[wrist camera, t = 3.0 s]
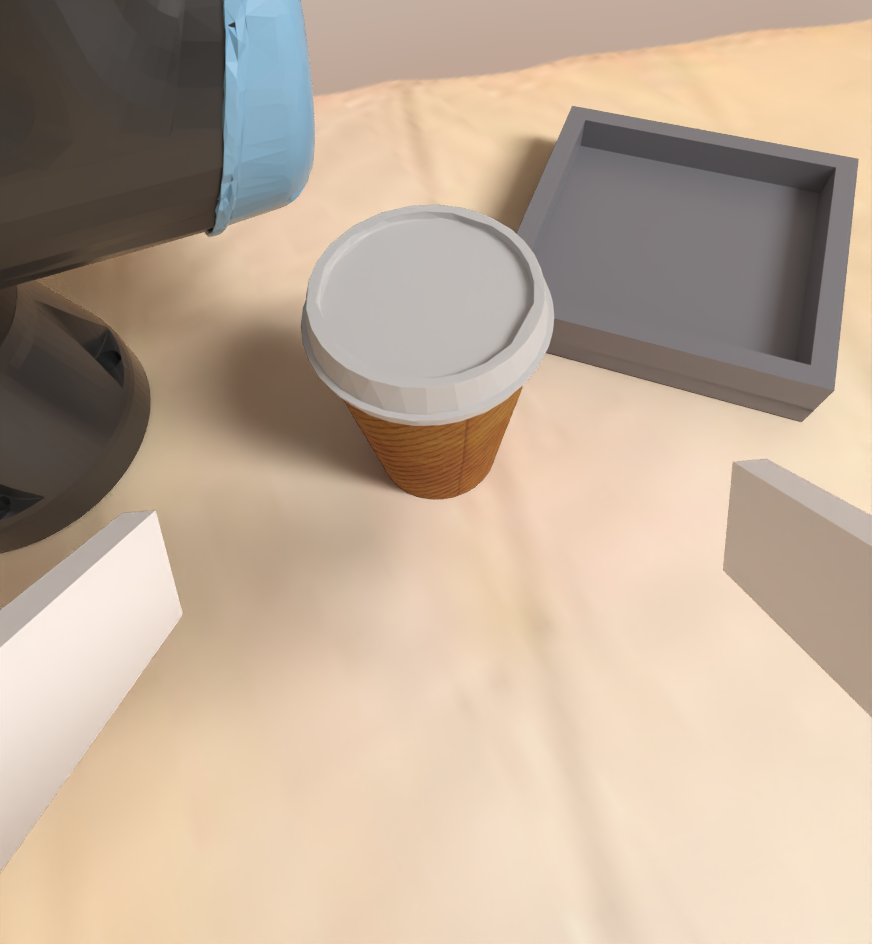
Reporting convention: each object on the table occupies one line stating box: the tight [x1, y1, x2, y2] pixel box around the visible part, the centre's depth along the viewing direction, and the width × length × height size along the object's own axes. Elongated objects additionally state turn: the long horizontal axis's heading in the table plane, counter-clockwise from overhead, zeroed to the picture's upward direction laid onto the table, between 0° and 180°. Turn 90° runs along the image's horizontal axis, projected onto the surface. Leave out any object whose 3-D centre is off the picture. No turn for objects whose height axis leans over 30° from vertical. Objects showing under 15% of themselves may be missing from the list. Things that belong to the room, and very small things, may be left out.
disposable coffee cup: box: [301, 205, 554, 499], centre depth 26 cm, size 10×10×12 cm
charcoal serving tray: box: [517, 106, 858, 422], centre depth 35 cm, size 18×18×3 cm
